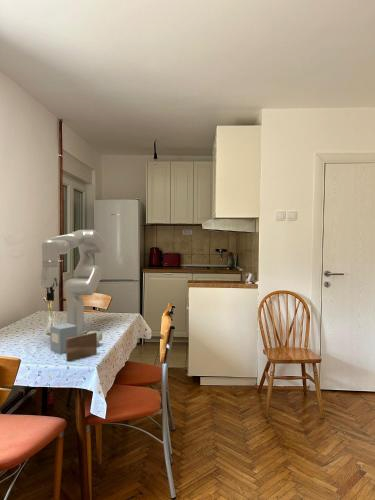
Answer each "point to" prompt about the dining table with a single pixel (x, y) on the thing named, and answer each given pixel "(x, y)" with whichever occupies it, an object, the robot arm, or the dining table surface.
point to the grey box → (61, 336)
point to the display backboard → (81, 346)
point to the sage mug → (99, 336)
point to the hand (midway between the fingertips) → (50, 300)
